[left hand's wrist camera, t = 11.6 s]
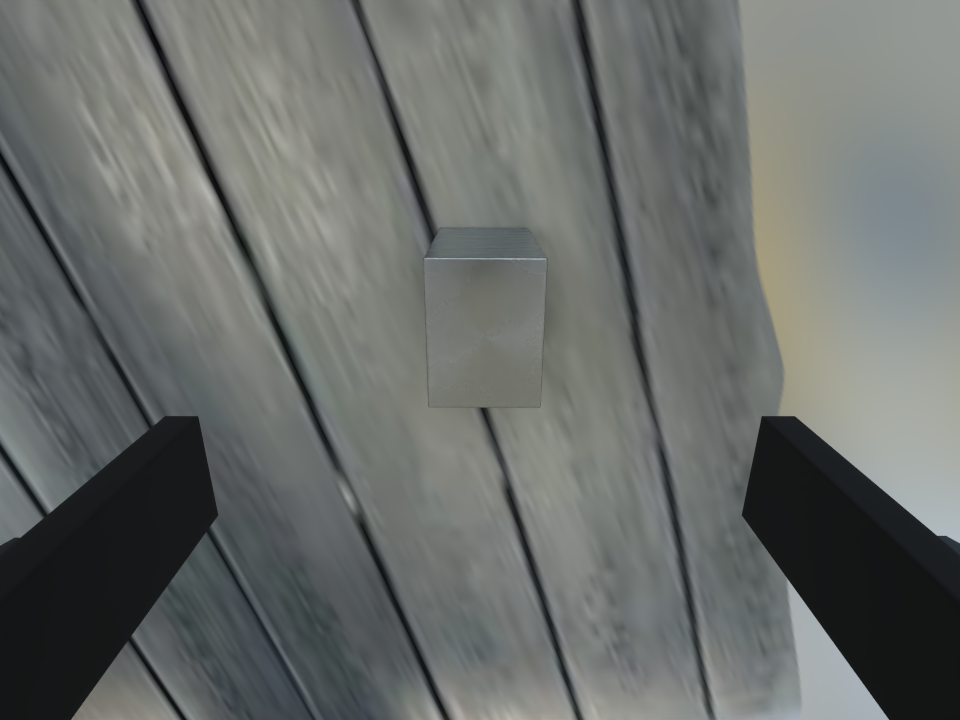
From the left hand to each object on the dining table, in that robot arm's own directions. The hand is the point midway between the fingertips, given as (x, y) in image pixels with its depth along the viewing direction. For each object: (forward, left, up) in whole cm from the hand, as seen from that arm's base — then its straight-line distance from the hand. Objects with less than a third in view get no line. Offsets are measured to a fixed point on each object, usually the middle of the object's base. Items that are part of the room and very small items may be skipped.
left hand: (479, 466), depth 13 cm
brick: (0, 0, -20) cm, 20 cm away
